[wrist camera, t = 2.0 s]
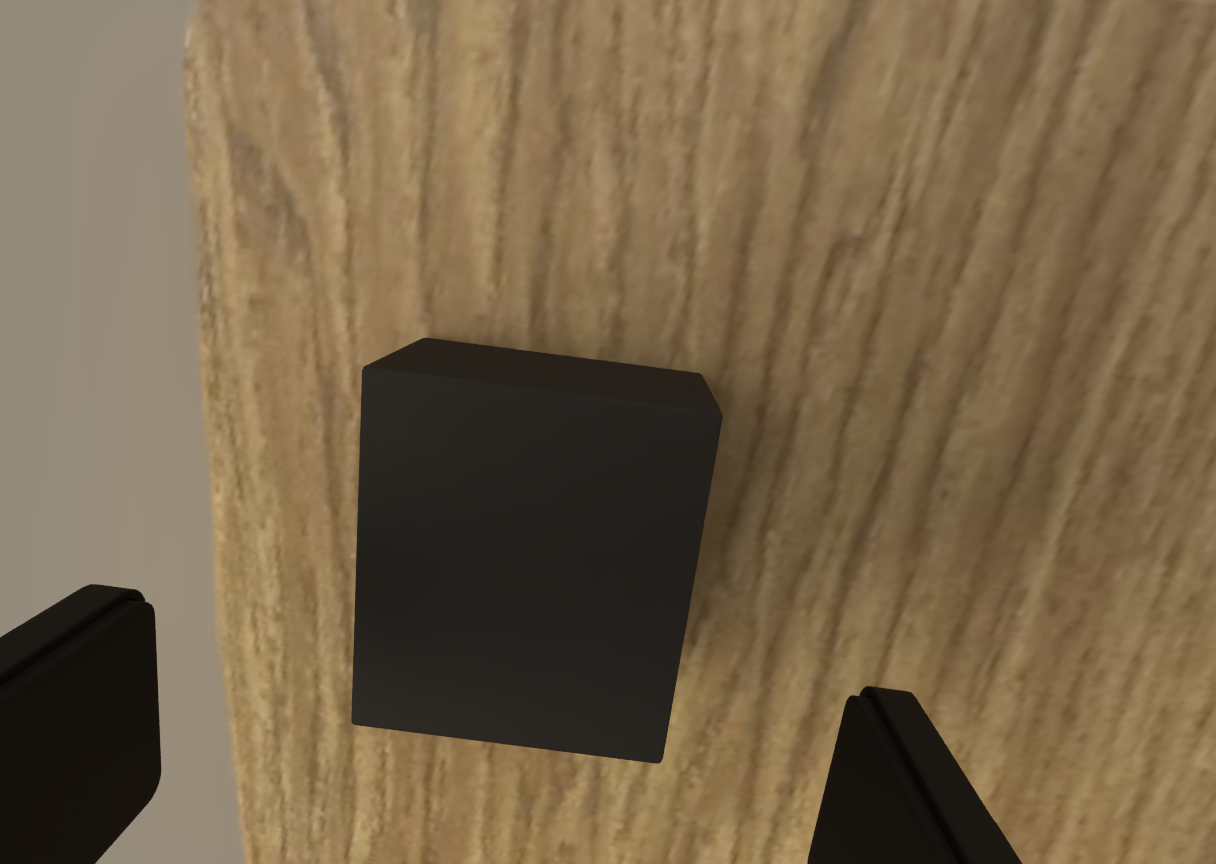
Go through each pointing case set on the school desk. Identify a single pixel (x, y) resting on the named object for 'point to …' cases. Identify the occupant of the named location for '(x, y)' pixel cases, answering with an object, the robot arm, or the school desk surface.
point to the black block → (527, 545)
